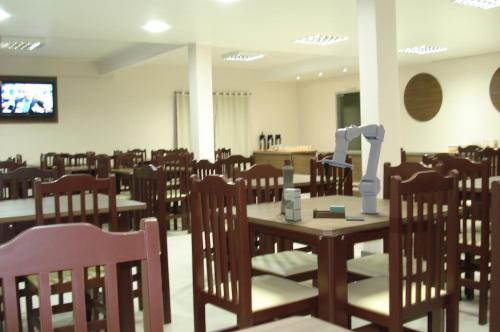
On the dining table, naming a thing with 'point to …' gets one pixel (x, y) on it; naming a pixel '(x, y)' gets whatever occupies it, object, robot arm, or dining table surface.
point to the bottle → (287, 180)
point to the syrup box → (292, 204)
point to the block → (337, 209)
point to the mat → (354, 218)
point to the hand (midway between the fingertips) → (334, 181)
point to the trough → (326, 214)
